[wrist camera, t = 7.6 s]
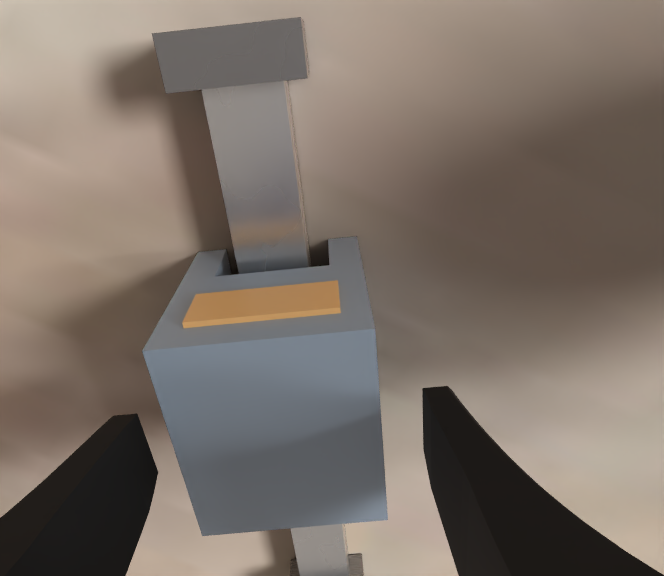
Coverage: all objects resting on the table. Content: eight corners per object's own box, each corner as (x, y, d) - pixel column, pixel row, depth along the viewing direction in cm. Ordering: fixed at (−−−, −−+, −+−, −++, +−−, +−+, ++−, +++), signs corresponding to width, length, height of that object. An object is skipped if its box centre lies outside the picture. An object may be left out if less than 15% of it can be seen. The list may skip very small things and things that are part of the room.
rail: (303, 20, 13) (300, 16, 10) (363, 570, 23) (368, 626, 20) (180, 34, 13) (151, 33, 10) (294, 576, 23) (291, 632, 21)
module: (356, 231, 15) (374, 322, 10) (368, 389, 18) (387, 519, 13) (197, 247, 15) (140, 345, 10) (233, 401, 18) (202, 535, 13)
